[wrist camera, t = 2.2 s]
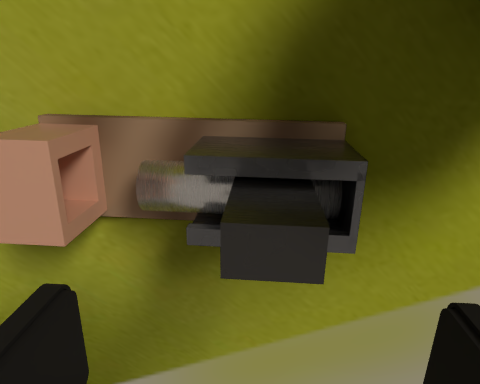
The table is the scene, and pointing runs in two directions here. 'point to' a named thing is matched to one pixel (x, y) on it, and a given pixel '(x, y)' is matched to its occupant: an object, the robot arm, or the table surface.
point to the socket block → (50, 183)
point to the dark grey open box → (281, 166)
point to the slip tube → (252, 218)
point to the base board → (171, 147)
